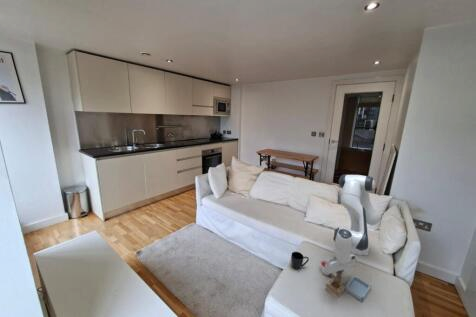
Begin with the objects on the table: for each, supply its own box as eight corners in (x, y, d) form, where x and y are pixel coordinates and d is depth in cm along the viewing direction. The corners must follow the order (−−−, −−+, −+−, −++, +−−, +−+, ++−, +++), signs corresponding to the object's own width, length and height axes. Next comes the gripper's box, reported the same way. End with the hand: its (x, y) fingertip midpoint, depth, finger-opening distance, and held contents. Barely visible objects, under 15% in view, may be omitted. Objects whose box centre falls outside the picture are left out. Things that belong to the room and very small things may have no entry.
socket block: (331, 282, 129) (332, 277, 128) (343, 291, 123) (344, 286, 122) (325, 289, 124) (326, 283, 123) (337, 298, 118) (338, 293, 117)
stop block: (336, 273, 136) (337, 267, 135) (340, 276, 134) (341, 270, 133) (330, 279, 131) (331, 273, 130) (335, 282, 129) (336, 276, 128)
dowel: (336, 279, 124) (338, 266, 122) (340, 283, 122) (342, 269, 119) (333, 281, 122) (335, 268, 120) (337, 285, 120) (340, 272, 118)
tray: (353, 278, 132) (354, 275, 131) (370, 289, 125) (371, 285, 124) (344, 290, 124) (345, 286, 123) (361, 302, 116) (362, 298, 115)
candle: (328, 279, 132) (329, 271, 130) (316, 270, 139) (317, 262, 137) (335, 273, 136) (337, 265, 135) (324, 264, 144) (325, 257, 142)
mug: (308, 272, 136) (310, 261, 134) (290, 270, 138) (292, 258, 136) (306, 263, 144) (307, 253, 142) (289, 261, 146) (291, 250, 144)
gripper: (331, 263, 111) (328, 283, 114) (358, 255, 117) (354, 274, 121) (323, 255, 117) (320, 274, 120) (349, 248, 123) (346, 266, 127)
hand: (338, 274), depth 121 cm, fingers closed on dowel, 3 cm apart
